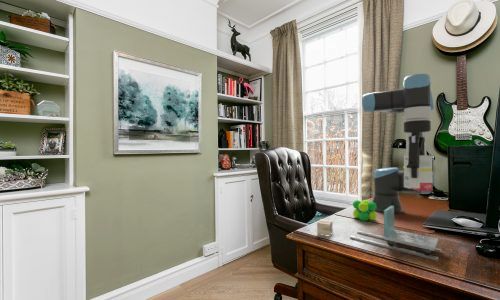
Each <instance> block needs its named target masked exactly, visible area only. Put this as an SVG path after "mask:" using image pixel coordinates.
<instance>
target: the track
mask: <svg viewBox="0 0 500 300" xmlns="http://www.w3.org/2000/svg"><path fill="white" fill-rule="evenodd" d="M356 231H357V232H356V233H357V234H359V235H363V236H364V235H365V236H369V237H373V238H376V239H381V240H385V239H384V235H380V234H375V233H370V232H366V231H362V230H356ZM350 238H351V239H352V240H354V239H355V240H354V241H358V240H359V241H360V242H362V241H363V243H366V244H370V245H374V246H379V247H381V246H382V248H386V249H390V250H393V251H397V252H401V253H406V254H409V255H414V256H418V257H421V258H425V259H429V260H432V261H436V262H438V261H439V257H438V256H435V255H431V254H430V255H425V254H423V252H419V251H414V250H410V249H406V248H402V247H397V246H395V245H394V246H389V245H388V244H385V243H382V242H378V241H375V240H370V239H366V238H363V237H362V238H361V237H358V236H353V235H350V236H349V239H350ZM396 243H397V244H399V243H398V242H396ZM400 244H402V243H400ZM402 245H403V244H402ZM405 245H406V246H408V245H407V244H405ZM409 246H411V245H409ZM411 247H412V246H411ZM413 247H415V246H413ZM417 248H419V247H417ZM419 249H420V248H419ZM422 249H423V248H421V250H422ZM431 252H435V253H442V249H440V248H437V247H436V248H435V250H434V251H432V250H431Z"/></svg>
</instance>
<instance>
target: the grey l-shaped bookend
mask: <svg viewBox="0 0 500 300" xmlns="http://www.w3.org/2000/svg"><path fill="white" fill-rule="evenodd" d="M383 236H384V239H385V240H386V243H387V245H389V246H395V245H396V243H397V242H398V243H397V244H401V243H402V245H406V244H407V245H406V246H410V245H411V247H414V246H415V247H416V248H418V247H419V249H421V251H422V252H421V253H423V254H425V255H431V253H432V252H435V251H434V250H435V248H437V245H438V243H439V238H438V237H433V236H428V235H424V234H417V233H413V232H408V231H403V230H398V229H395V213H394V206H390V207H388V208H387V209H385V210H384V212H383ZM384 239H383V240H384ZM422 248H423V249H422ZM431 250H432V251H431Z"/></svg>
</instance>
